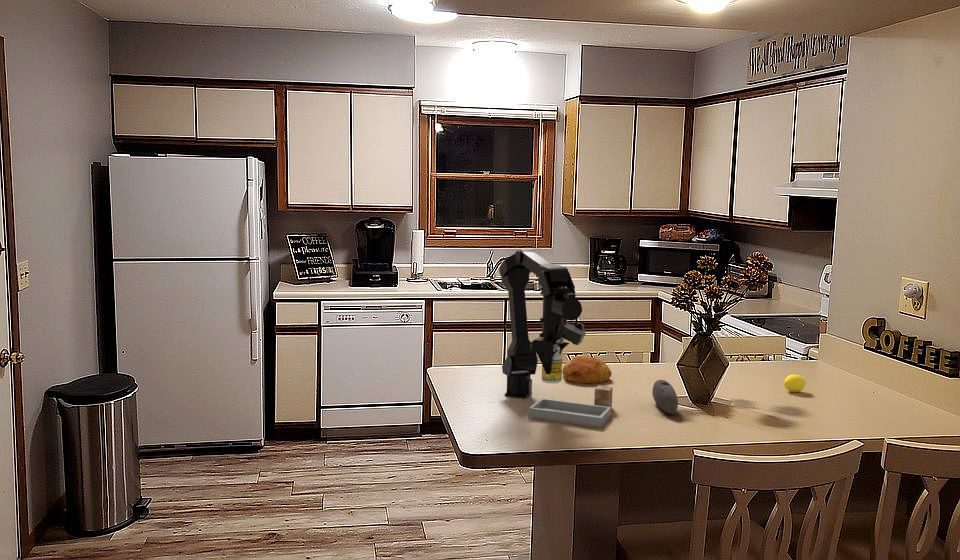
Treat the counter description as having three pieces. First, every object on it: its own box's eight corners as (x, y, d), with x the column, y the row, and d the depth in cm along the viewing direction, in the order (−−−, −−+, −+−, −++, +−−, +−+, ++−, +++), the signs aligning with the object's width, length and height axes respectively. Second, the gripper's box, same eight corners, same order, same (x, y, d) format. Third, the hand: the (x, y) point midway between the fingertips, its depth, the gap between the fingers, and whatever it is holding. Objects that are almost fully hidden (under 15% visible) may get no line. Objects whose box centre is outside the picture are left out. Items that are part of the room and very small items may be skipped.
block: (593, 410, 220) (594, 388, 219) (597, 406, 224) (598, 385, 223) (608, 411, 218) (609, 390, 218) (611, 408, 222) (612, 387, 221)
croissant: (575, 377, 264) (573, 353, 264) (618, 378, 255) (616, 353, 254) (552, 385, 252) (550, 360, 252) (596, 386, 243) (594, 360, 243)
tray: (528, 417, 212) (528, 408, 211) (541, 407, 221) (541, 398, 221) (600, 427, 204) (601, 418, 204) (611, 416, 214) (611, 407, 213)
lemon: (788, 394, 239) (789, 377, 239) (779, 389, 245) (780, 372, 244) (809, 394, 240) (811, 376, 240) (800, 389, 246) (801, 372, 245)
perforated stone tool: (682, 418, 214) (683, 393, 213) (662, 418, 214) (664, 392, 213) (668, 402, 229) (670, 378, 228) (650, 402, 229) (651, 378, 228)
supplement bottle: (553, 377, 217) (554, 343, 216) (565, 382, 213) (567, 346, 212) (537, 380, 214) (538, 345, 213) (549, 384, 210) (551, 348, 209)
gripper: (572, 322, 200) (570, 383, 202) (592, 311, 217) (590, 367, 219) (530, 318, 204) (528, 378, 206) (553, 307, 221) (551, 362, 223)
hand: (551, 371), depth 213 cm, fingers closed on supplement bottle, 5 cm apart
